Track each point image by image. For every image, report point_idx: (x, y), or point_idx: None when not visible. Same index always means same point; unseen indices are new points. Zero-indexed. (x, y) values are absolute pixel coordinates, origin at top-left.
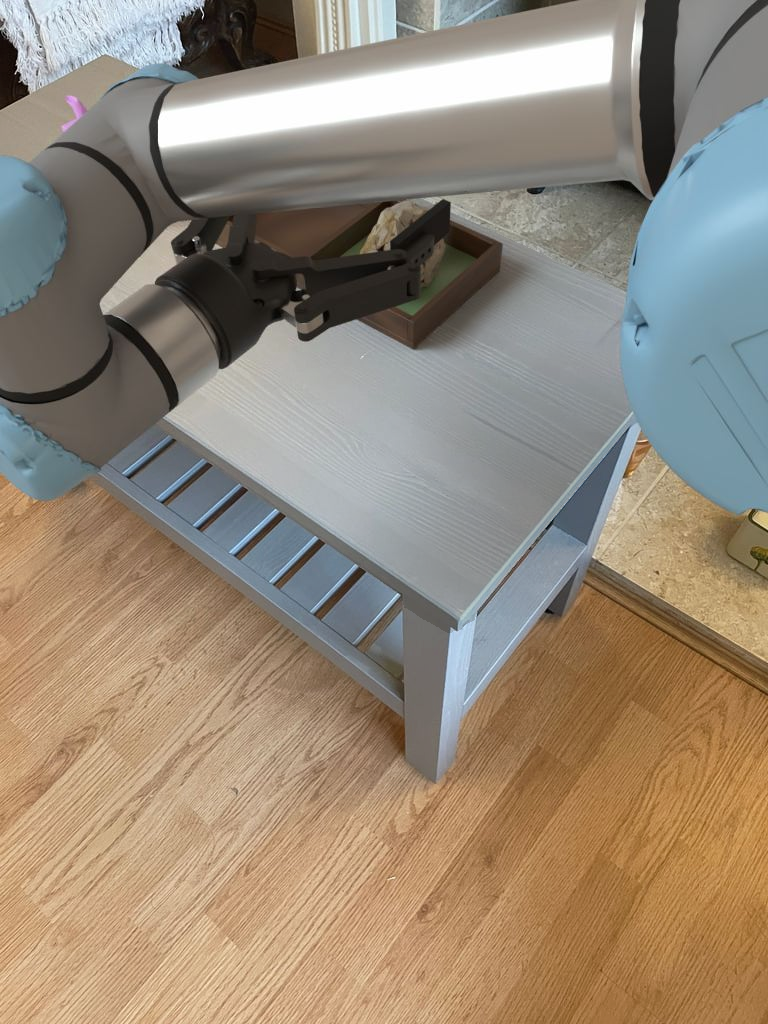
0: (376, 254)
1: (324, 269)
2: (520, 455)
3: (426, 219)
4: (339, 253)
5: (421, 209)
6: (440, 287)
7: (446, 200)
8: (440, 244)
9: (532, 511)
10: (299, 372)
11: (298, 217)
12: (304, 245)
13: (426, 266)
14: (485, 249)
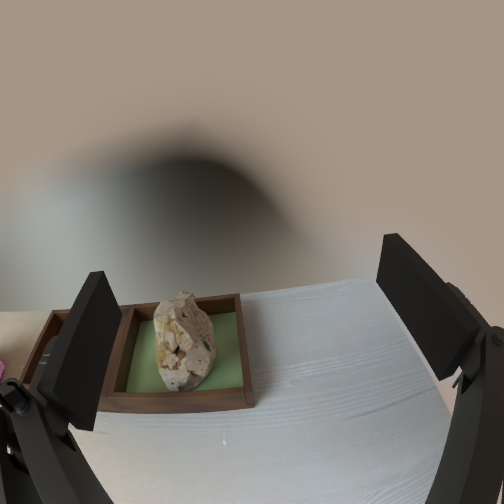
0: (491, 372)
1: (497, 498)
2: (406, 410)
3: (425, 266)
4: (128, 367)
5: (181, 300)
6: (222, 347)
7: (390, 234)
8: (207, 318)
9: None
10: (190, 491)
11: None
12: None
13: (210, 340)
14: (228, 304)
